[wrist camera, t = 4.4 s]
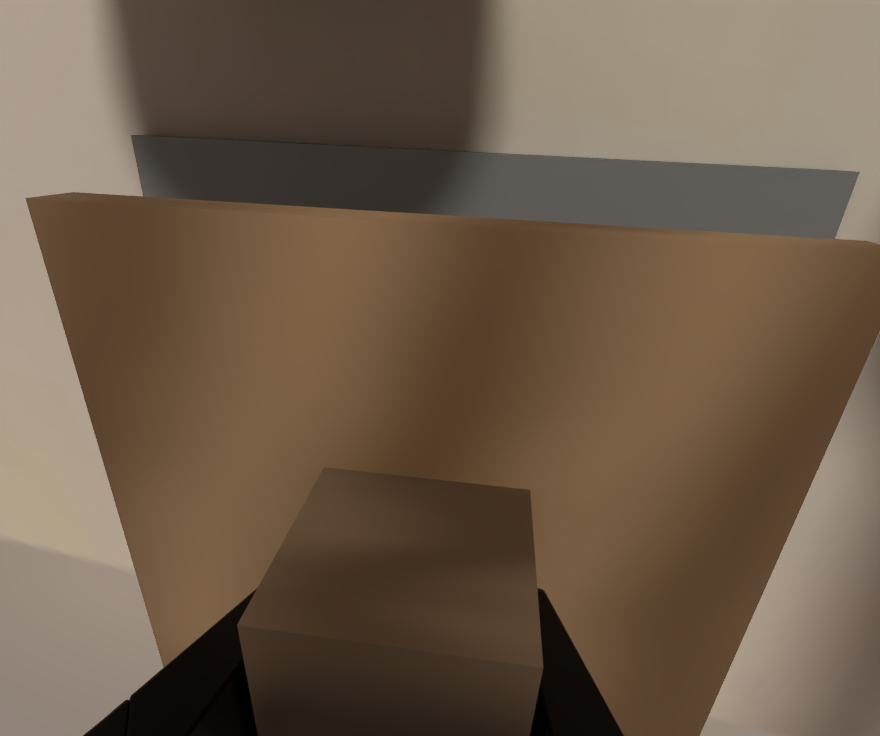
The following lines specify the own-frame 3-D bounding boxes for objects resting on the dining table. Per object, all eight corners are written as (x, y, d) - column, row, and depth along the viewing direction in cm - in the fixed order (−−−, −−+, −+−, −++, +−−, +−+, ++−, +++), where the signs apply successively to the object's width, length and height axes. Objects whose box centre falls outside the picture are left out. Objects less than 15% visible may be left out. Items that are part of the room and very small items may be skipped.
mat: (846, 170, 13) (859, 172, 13) (698, 579, 20) (703, 589, 19) (142, 135, 15) (130, 135, 15) (215, 520, 21) (209, 528, 21)
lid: (866, 240, 8) (1255, 349, 4) (665, 742, 14) (734, 1001, 9) (73, 192, 9) (-279, 235, 5) (195, 672, 15) (77, 875, 11)
